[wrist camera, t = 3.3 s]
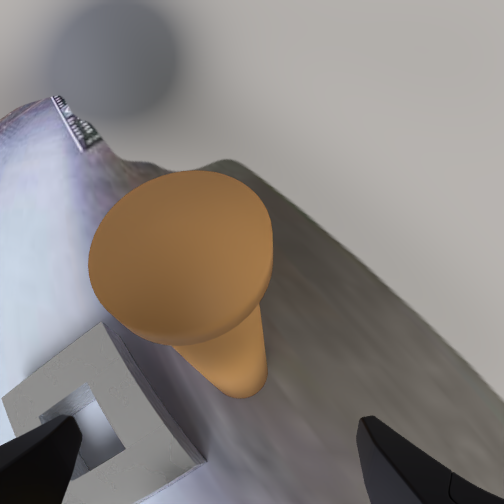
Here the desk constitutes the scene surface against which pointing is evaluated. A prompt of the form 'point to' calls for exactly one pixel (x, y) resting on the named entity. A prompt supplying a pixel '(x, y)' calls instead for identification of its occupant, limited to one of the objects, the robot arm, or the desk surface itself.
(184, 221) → the wedge pin
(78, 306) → the desk surface
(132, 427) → the grey square socket block
